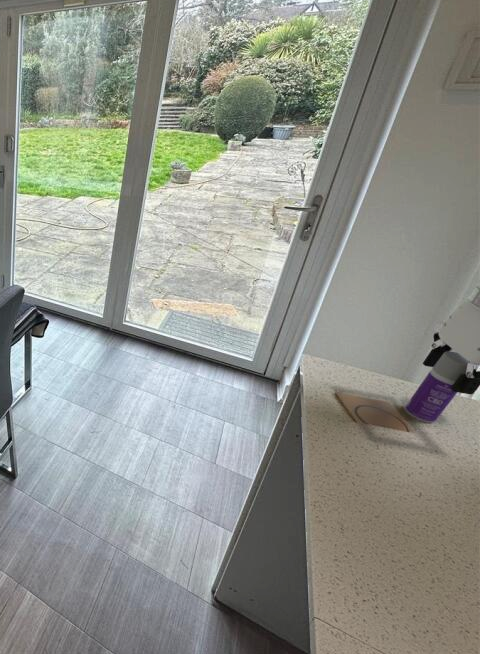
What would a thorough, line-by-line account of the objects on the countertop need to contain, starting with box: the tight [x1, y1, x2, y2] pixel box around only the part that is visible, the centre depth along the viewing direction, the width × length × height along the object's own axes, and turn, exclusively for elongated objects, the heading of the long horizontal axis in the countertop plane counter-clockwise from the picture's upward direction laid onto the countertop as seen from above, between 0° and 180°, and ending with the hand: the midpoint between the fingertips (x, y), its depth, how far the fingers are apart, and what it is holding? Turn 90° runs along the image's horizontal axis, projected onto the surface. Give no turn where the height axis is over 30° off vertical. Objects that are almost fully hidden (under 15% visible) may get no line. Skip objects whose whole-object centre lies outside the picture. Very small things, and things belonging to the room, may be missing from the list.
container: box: [404, 351, 468, 424], centre depth 82 cm, size 5×5×15 cm
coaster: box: [334, 391, 417, 435], centre depth 84 cm, size 10×14×1 cm
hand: (446, 378), depth 81 cm, fingers open, 7 cm apart
